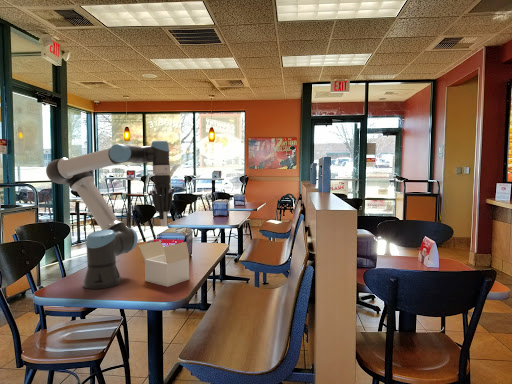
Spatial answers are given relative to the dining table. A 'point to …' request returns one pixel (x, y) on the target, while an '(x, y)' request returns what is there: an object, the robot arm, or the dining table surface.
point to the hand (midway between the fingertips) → (163, 225)
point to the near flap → (176, 252)
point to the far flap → (151, 249)
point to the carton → (166, 271)
